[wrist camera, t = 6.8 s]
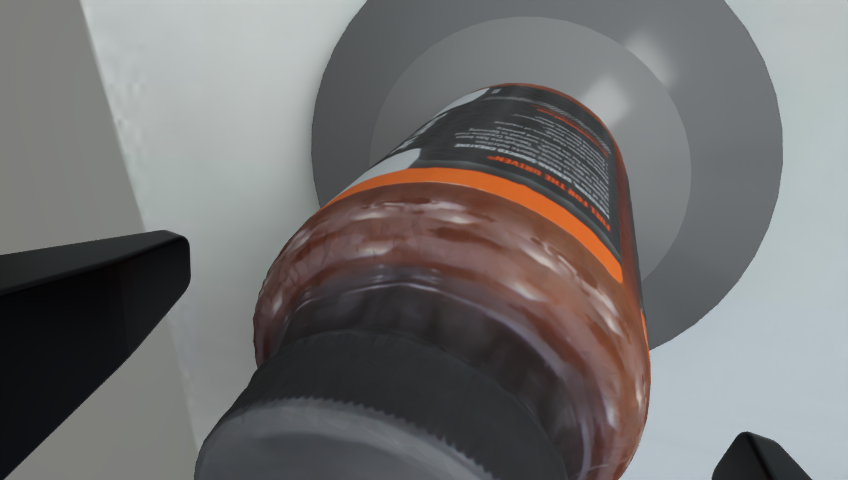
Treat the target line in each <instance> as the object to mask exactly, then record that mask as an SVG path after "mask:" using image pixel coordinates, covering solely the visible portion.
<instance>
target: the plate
mask: <svg viewBox="0 0 848 480" xmlns="http://www.w3.org/2000/svg"><path fill="white" fill-rule="evenodd" d="M504 83H533V84H537V85H542V86H545V87H548V88H552V89H555V90H558V91H560V92H563V93H565V94H567V95H569V96H571V97H573V98H574V99H576V100H578V101H579V102H581V103H582V104H583V105H584V106H586V107H587V108H589V109H590V110H591V111H592V112H593V113H595V114H596V115H597V116H598V117H599V118H600V119H601V120H602V122H603V123H604V124H605V125H606V126H607V128H608V129H609V130H610V132H611V134H612V136H613V138H614V140H615V142H616V143H617V145H618V147H619V150H620V152H621V155H622V158H623V162H624V165H625V168H626V173H627V176H628V180H629V187H630V196H631V202H632V210H633V219H634V227H635V235H636V244H637V252H638V258H639V269H640V276H641V287H642V294H643V304H644V310H645V315H646V324H647V341H648V348H649V351H650V350H652V349H654V348H656V347H658V346H660V345H662V344H664V343H666V342H668V341H670V340H671V339H673V338H674V337H676V336H677V335H679V334H680V333H682V332H683V331H685V330H686V329H688V328H690V327H691V326H693V325H694V324H695V323H697V322H698V321H699V320H700V319H701V318H702V317H704V316H705V315H706V314H707V313H708V312H709V311H710V310H712V309H713V308H714V307H715V306H716V305H717V304H718V303H719V302H720V301H721V300H722V299H723V298H724V297H725V295H726V294H727V293H728V292H729V291H730V290H731V289H732V288H733V286H734V285H735V284H736V283H737V282H738V280H739V279H740V277H741V276H742V275H743V273H744V272H745V270H746V269H747V267H748V266H749V264H750V263H751V261H752V260H753V258H754V257H755V255H756V253H757V250H758V248H759V246H760V244H761V242H762V240H763V238H764V236H765V234H766V232H767V230H768V227H769V224H770V221H771V218H772V214H773V211H774V208H775V205H776V201H777V198H778V193H779V186H780V179H781V172H782V165H783V146H782V125H781V119H780V114H779V108H778V102H777V97H776V93H775V90H774V87H773V84H772V82H771V79H770V76H769V73H768V70H767V67H766V65H765V62H764V60H763V58H762V56H761V54H760V52H759V51H758V49H757V47H756V45H755V43H754V41H753V40H752V38H751V36H750V34H749V32H748V31H747V29H746V28H745V26H744V25H743V24H742V22H741V21H740V20H739V19H738V17H737V16H736V15H735V14H734V12H733V11H732V10H731V8H730V7H729V6H728V5H727V3H726V2H725V1H724V0H367V2H366V3H365V4H364V5H363V7H362V8H361V9H360V10H359V12H358V13H357V14H356V16H355V17H354V18H353V19H352V21H351V22H350V23H349V25H348V26H347V28H346V30H345V32H344V33H343V35H342V37H341V38H340V40H339V42H338V43H337V45H336V47H335V48H334V51H333V53H332V55H331V58H330V60H329V62H328V65H327V67H326V69H325V72H324V74H323V78H322V81H321V85H320V88H319V92H318V95H317V99H316V104H315V111H314V118H313V124H312V152H311V154H312V164H313V174H314V182H315V186H316V191H317V195H318V200H319V204H320V207H321V208H323V207H324V206H325V205H326V204H327V203H329V202H330V201H331V200H332V199H333V198H335V197H336V196H337V195H338V194H340V193H341V192H342V191H343V190H345V189H346V188H347V187H348V186H349V185H351V184H352V183H353V182H354V181H356V180H357V179H358V178H359V177H360V176H362V175H363V174H364V173H365V172H366V171H367V170H368V169H369V168H370V167H372V166H373V165H374V164H376V163H377V162H378V161H380V160H381V159H383V158H384V157H385V156H387V155H388V154H389V153H390V152H391V151H392V150H393V149H395V148H396V147H397V146H399V145H400V144H401V143H402V142H403V141H405V140H406V139H407V138H408V137H410V136H411V135H412V134H413V133H414V132H415V131H416V130H417V129H419V128H420V127H421V126H422V125H424V124H425V123H427V122H428V121H429V120H430V119H432V118H433V117H434V116H435V115H436V114H438V113H439V112H440V111H441V110H443V109H444V108H445V107H447V106H448V105H450V104H451V103H453V102H454V101H456V100H458V99H460V98H462V97H463V96H465V95H467V94H469V93H471V92H474V91H476V90H479V89H481V88H486V87H489V86H494V85H499V84H504Z"/></svg>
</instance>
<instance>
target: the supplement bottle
mask: <svg viewBox="0 0 848 480" xmlns="http://www.w3.org/2000/svg"><path fill="white" fill-rule="evenodd" d="M253 323H254V339H253V342H254V347H255V359H256V364H257V367H258V369H257V370H256V371H255V373H254V374H253V376H252V378H251V380H250V382H249V384H248V386H247V388H246V389H245V390H244V391H243V392H242V393H241V394H240V396H239V397H238V398H237V400H236V401H235V402H234V404H233V405H232V407H231V408H230V409H229V410H228V411H227V412H226V413H225V414H224V415H223V416H222V417H221V419H220V420H219V421H218V423H217V424H216V425H215V427H214V428H213V429H212V431H211V432H210V434H209V435H208V436H207V438H206V439H205V440H204V442H203V445H202V447H201V449H200V451H199V456H198V459H197V461H196V466H195V474H194V480H618V479H619V478H620V477H621V476H622V474H623V473H624V472H625V470H626V469H627V467H628V465H629V464H630V462H631V461H632V459H633V456H634V454H635V452H636V450H637V448H638V446H639V443H640V440H641V437H642V433H643V430H644V427H645V423H646V420H647V414H648V407H649V396H650V385H651V373H650V356H649V348H648V341H647V324H646V315H645V310H644V304H643V294H642V287H641V276H640V269H639V258H638V252H637V244H636V235H635V227H634V219H633V210H632V202H631V196H630V187H629V180H628V176H627V173H626V168H625V165H624V162H623V158H622V155H621V152H620V150H619V147H618V145H617V143H616V142H615V140H614V138H613V136H612V134H611V132H610V130H609V129H608V128H607V126H606V125H605V124H604V123H603V122H602V120H601V119H600V118H599V117H598V116H597V115H596V114H595V113H593V112H592V111H591V110H590V109H589V108H587V107H586V106H584V105H583V104H582V103H581V102H579V101H578V100H576V99H574V98H573V97H571V96H569V95H567V94H565V93H563V92H560V91H558V90H555V89H552V88H548V87H545V86H542V85H537V84H533V83H504V84H499V85H494V86H489V87H486V88H481V89H479V90H476V91H474V92H471V93H469V94H467V95H465V96H463V97H462V98H460V99H458V100H456V101H454V102H453V103H451V104H450V105H448V106H447V107H445V108H444V109H443V110H441V111H440V112H439V113H438V114H436V115H435V116H434V117H433V118H432V119H430V120H429V121H428V122H427V123H425V124H424V125H422V126H421V127H420V128H419V129H417V130H416V131H415V132H414V133H413V134H412V135H411V136H410V137H408V138H407V139H406V140H405V141H403V142H402V143H401V144H400V145H399V146H397V147H396V148H395V149H393V150H392V151H391V152H390V153H389V154H388V155H387V156H385V157H384V158H383V159H381V160H380V161H378V162H377V163H376V164H374V165H373V166H372V167H370V168H369V169H368V170H367V171H366V172H365V173H364V174H363V175H362V176H360V177H359V178H358V179H357V180H356V181H354V182H353V183H352V184H351V185H349V186H348V187H347V188H346V189H345V190H343V191H342V192H341V193H340V194H338V195H337V196H336V197H335V198H333V199H332V200H331V201H330V202H329V203H327V204H326V205H325V206H324V207H323V208H321V209H320V210H319V211H318V212H316V213H315V214H314V215H313V216H312V217H310V218H309V219H308V220H307V221H306V222H305V223H304V224H303V225H302V227H301V228H300V229H299V230H298V231H297V232H296V233H295V234H294V235H293V236H292V237H291V239H290V240H289V241H288V242H287V243H286V245H285V246H284V247H283V249H282V250H281V252H280V254H279V255H278V257H277V258H276V259H275V261H274V262H273V264H272V266H271V267H270V269H269V271H268V273H267V276H266V279H265V280H264V282H263V285H262V288H261V290H260V292H259V298H258V302H257V304H256V308H255V314H254V317H253Z"/></svg>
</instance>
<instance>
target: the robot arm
mask: <svg viewBox="0 0 848 480" xmlns="http://www.w3.org/2000/svg"><path fill="white" fill-rule="evenodd" d="M190 279H191V269H190V246H189V242H188V240H187V239H186V238H185V237H184V236H182V235H179V234H176V233H173V232H170V231H167V230H159V231H152V232H146V233H140V234H133V235H127V236H121V237H114V238H108V239H101V240H95V241H88V242H82V243H75V244H69V245H63V246H56V247H50V248H43V249H38V250H31V251H24V252H18V253H11V254H5V255H0V480H4V479H5V478H6V477H7V476H8V475H9V474H10V473H11V472H12V471H13V470H14V469H15V468H16V467H17V466H18V465H19V464H20V463H21V462H22V461H24V459H26V458H27V457H28V456H29V455H30V454H31V453H32V452H33V451H34V450H35V449H36V448H37V447H38V446H39V445H40V444H41V443H42V442H43V441H44V440H45V439H46V438H47V437H48V436H49V435H50V434H51V433H52V432H53V431H54V430H55V429H56V428H57V427H58V426H60V425H61V424H62V422H64V421H65V420H66V419H67V418H68V417H69V416H70V415H71V414H72V413H73V412H74V411H75V410H76V409H77V408H78V407H79V406H80V405H81V404H82V403H83V402H84V401H85V400H86V399H87V398H88V397H89V396H90V395H91V394H92V393H93V392H94V391H95V390H96V389H98V388H99V386H100V385H102V384H103V383H104V382H105V381H106V380H107V379H108V378H109V377H110V376H111V375H112V374H113V373H114V372H115V371H116V370H117V369H118V368H119V367H120V366H121V365H122V364H123V363H124V362H125V361H126V360H127V359H128V358H129V357H130V356H131V354H132V353H133V352H134V351H135V350H136V349H137V348H138V347H139V346H140V344H141V343H142V342H143V341H144V340H145V339H146V337H147V336H148V335H149V334H150V333H151V331H152V330H153V329H154V328H155V327H156V325H157V324H158V323H159V322H160V321H161V320H162V318H163V317H164V316H165V315H166V314H167V313H168V311H169V310H170V309H171V308H172V307H173V305H174V304H175V303H176V302H177V301H178V299H179V298H180V297H181V296H182V295H183V294H184V292H185V291H186V289H187V288H188V286H189V283H190ZM712 480H812V479H811V478H810V477H809V476H808V475H807V474H806V472H805V471H804V470H803V469H802V468H801V467H800V466H799V465H798V464H797V463H796V462H795V461H794V460H793V459H792V458H791V456H790V455H789V454H788V453H787V452H786V451H785V450H784V449H783V448H782V447H781V446H780V445H779V444H778V443H777V442H775V441H774V440H771V439H768V438H765V437H763V436H760V435H757V434H754V433H751V432H742V433H740V434H739V435H738V436H737V437H736V438H735V440H734V441H733V443H732V444H731V445H730V447H729V448H728V450H727V451H726V453H725V454H724V456H723V457H722V459H721V460H720V462H719V463H718V464H717V466H716V468H715V470H714V472H713V475H712Z"/></svg>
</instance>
